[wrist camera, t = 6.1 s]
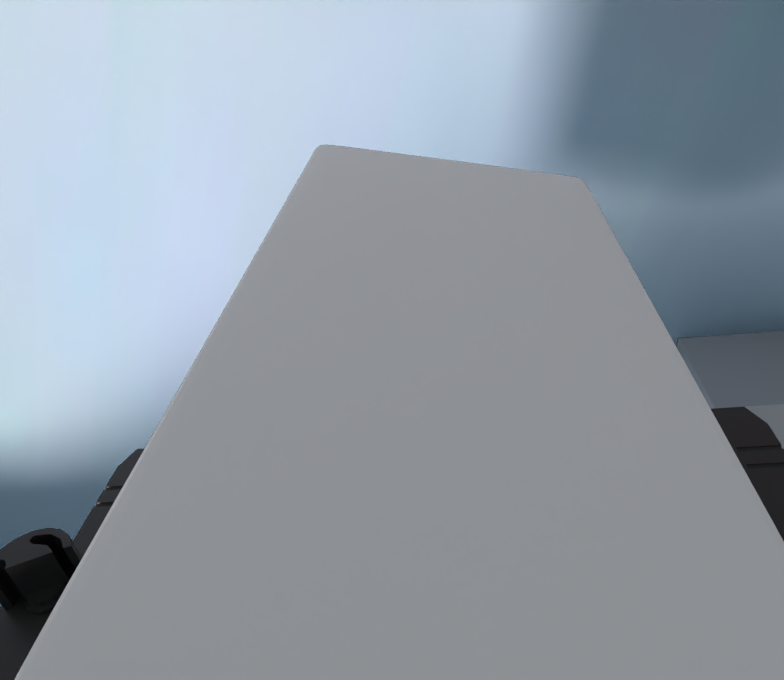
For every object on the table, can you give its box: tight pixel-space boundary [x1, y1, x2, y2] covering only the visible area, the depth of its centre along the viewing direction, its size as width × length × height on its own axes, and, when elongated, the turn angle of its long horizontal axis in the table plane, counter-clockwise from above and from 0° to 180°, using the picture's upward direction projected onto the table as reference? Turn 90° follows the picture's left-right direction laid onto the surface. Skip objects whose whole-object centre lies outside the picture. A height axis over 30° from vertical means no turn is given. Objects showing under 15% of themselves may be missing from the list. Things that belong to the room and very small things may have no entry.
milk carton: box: [15, 145, 784, 680], centre depth 11 cm, size 7×7×19 cm
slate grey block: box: [677, 330, 784, 449], centre depth 28 cm, size 5×5×5 cm
